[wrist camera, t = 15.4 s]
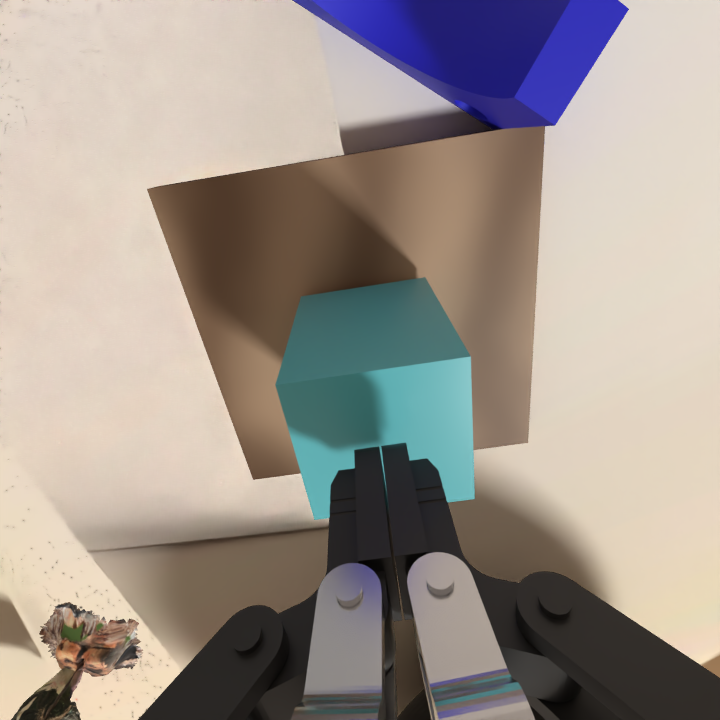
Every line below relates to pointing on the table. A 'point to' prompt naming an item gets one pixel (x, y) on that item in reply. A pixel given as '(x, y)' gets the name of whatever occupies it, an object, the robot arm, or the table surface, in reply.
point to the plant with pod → (79, 658)
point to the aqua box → (377, 385)
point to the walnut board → (364, 265)
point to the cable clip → (485, 49)
